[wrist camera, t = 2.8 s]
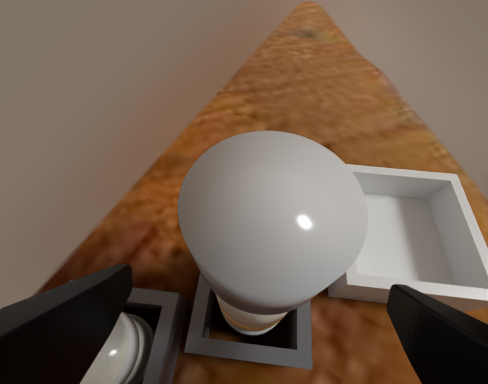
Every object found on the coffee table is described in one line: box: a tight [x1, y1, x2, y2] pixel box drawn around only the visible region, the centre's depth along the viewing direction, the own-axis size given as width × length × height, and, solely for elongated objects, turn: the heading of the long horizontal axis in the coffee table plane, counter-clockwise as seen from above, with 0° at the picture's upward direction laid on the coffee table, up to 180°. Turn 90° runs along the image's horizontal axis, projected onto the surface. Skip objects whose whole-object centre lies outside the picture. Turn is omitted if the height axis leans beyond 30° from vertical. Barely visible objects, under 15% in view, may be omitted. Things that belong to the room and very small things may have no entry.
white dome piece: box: [80, 311, 156, 384], centre depth 13 cm, size 4×4×4 cm
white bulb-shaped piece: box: [178, 131, 368, 337], centre depth 11 cm, size 4×4×13 cm
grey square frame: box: [184, 271, 312, 370], centre depth 15 cm, size 6×6×3 cm
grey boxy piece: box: [69, 280, 189, 384], centre depth 13 cm, size 6×6×3 cm
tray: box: [328, 164, 488, 312], centre depth 17 cm, size 8×8×4 cm
